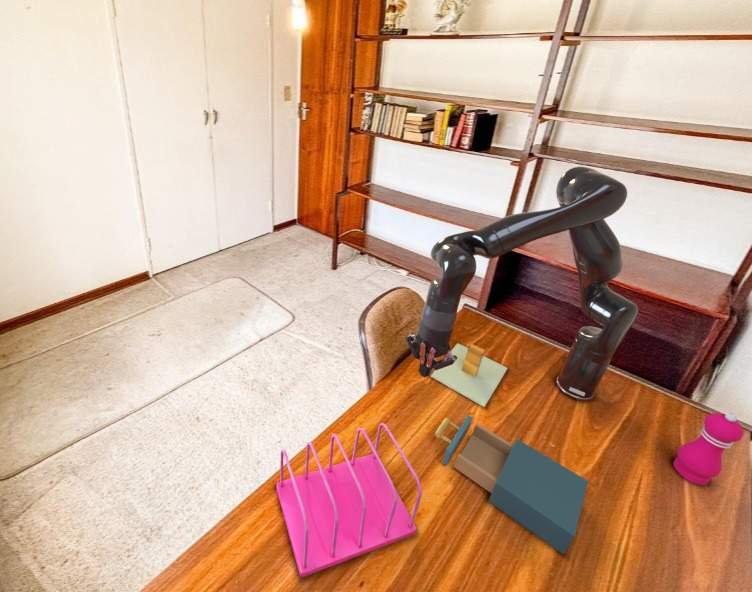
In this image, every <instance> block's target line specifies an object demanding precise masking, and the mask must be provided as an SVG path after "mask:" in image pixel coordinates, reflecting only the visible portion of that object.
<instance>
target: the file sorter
mask: <svg viewBox="0 0 752 592" xmlns="http://www.w3.org/2000/svg"><path fill="white" fill-rule="evenodd" d="M382 428H384V429H385V430H386V432H387V434H388V435H389V438H390V439H391V441H392V443H393V444H394V445H395V448H396V449H397V450H398V452H399V454H400V456H401V457H402V459H403V460H404V462H405V465H406V467H407V469H408V470H409V471H410V473H411V475H412V477H413V478H414V480H415V482H416V486H417V495H416V496H417V497H416V500H415V503H414V506H413V510H412V513H411V516H410V514H409V512H408V510H407V508H406V506H405V504H404V502H403V501H402V498H401V497H400V495H399V493H398V491H397V489H396V487H395V485H394V482H393V480H392V478H391V476H390V475H389V473H388V471H387V469H386V467H385V466H384V464H383V462H382V459H381V457H380V456H379V453H378V448H379V442H380V437H381V433H382ZM361 432H362V434H363V436H364V437H365V440H366V441H367V443H368V445H369V447H370V449H371V451H372V453H371V454H368V455H365V456H361V457H357V458H356V456H357V451H358V444H359V439H360V434H361ZM335 441H336V443H337V446H338V448H339V449H340V452H341V454H342V456H343V458H344V460H345V461H344V462H340V463H337V464H334V465H333V455H334V454H333V453H334V444H335ZM329 447H330V448H329V458H328V467H324V468H323V466H322V464H321V462H320V460H319V456H318V454H317V452H316V449H315V447H314V445H313V443H312V441H308V442H307V443H306V453H305V467H304V469H305V470H304V474H301V475H297V476H294V472H293V469H292V466H291V463H290V460H289V457H288V454H287V451H286V449H284V448H282V449H280V468H279V469H280V473H279V474H280V477H279V478H280V481H278V482H276V493H277V496H278V500H279V504H280V506H281V507H280V508H281V511H282V515H283V517H284V521H285V525H286V529H287V532H288V536H289V537H288V538H289V541H290V544H291V548H292V551H293V556H294V559H295V563H296V566H297V569H298V572H299V573H298V574H299V576H300V578H304V577H308V576H310V575H312V574H315V573H317V572H320V571H323V570H325V569H328V568H330V567H334V566H336V565H338V564H341V563H343V562H346V561H349V560H351V559H355V558H358V557H359V556H362V555H365V554H368V553H370V552H372V551H376V550H378V549H381V548H383V547H386V546H388V545H391V544H394V543H396V542H398V541H401V540H404V539H406V538H409V537H412V536H414V535H416V534H417V527H416V525H415V523H414V522H415V519H416V515H417V513H418V510H419V506H420V503H421V500H422V495H423V491H422V485H421V481H420V479H419V477H418V475H417V473H416V472H415V470H414V468H413V466H412V465H411V463H410V461H409V460H408V458H407V456H406V454H405V453H404V451H403V450H402V448H401V445H400V444H399V443H398V441H397V439H396V438H395V437H394V435H393V433H392V432H391V430H390V429H389V427H388V426H387V424H386V423H384V422H382V423H380V424H379V425H378V428H377V434H376V439H375V444H374V445H373V443H372V441H371V439H370V437H369V435H368V433H367V432H366V430H365V429H364V428H363V427H358V429H357V431H356V435H355V440H354V446H353V452H352V457H351V460H350V459H349V458H348V455H347V453H346V451H345V449H344V447H343V445H342V443H341V440H340V438H339V437H338V435H337V434H336V433H332V435H331V437H330V446H329ZM310 449H311V452H312V454H313V457H314V459H315V462H316V464H317V467H318V469H317V470H315V471H311V472H309V463H310ZM284 460H285V463H286V466H287V469H288V472H289V476H290V478H288V479H285V480H284Z"/></svg>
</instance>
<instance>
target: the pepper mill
mask: <svg viewBox="0 0 752 592" xmlns="http://www.w3.org/2000/svg"><path fill="white" fill-rule="evenodd" d="M743 437H744V428H743V426H742V425H741V424H740V422H739V421H738V417H737V415H736V414H734V413H732V412H727V413H720V412H714V413H710V414H707V415H706V417H704V420H703V426H702V428H701V429H700V436H699V437H698V438H696V439H695V440H693V441H688V442H686V443H684V444H682V445H681V446H680V447H679V448H678V449H677V456H676V458H675V459H674V461H673V462H672V465H673V467H674V469H675V471H676V472H678V474H679V475H680V476H682V477H683V478H684V479H685V480H687V481H688V482H690V483H692V484H695V485H698V486H699V485H700V486H705V485H707V484H708V483H709V482H710V481H711V479H712V478H715V477H717V476H719V475H720V473H721V471H722V468H723V463H722V461H723V460H722V456H723V453H724V450H726V449H730V448H731V447H732V445H734V443H737V442H739V441H741V440H742V439H743Z"/></svg>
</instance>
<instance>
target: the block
mask: <svg viewBox="0 0 752 592" xmlns="http://www.w3.org/2000/svg"><path fill="white" fill-rule="evenodd" d="M467 348H468V350H467V354H466V357H465V360H464V364H463V367H462V372H464V373H466V374H468V375H470V376H472V377H474V378H475V376H476V375H477V373H478V371H479V368H480V365H481V362H482V358H483V356H485V352H486V350H485V349H483V348H481V347H480V346H477V345H476V344H473V343H470V345H469V347H467Z"/></svg>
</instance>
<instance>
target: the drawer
mask: <svg viewBox="0 0 752 592" xmlns="http://www.w3.org/2000/svg"><path fill="white" fill-rule="evenodd" d="M472 420H473V416H471V415H469V414H467V416H466V417H465V418H464V420H463V422H462V423H461V425H460V427H459V426H458V425H457V424H455V423H453V422H452V421H451V420H450V418H449V417H444V419H443V420H442V422H441V423H440V424H439V426H438V428H437V429H436V430H435V432H434V436H435V438H438V439H439V438H441V439H442V440H444V441H445V442H447V443H448V446H447V447H446V448H445V452H444V454H443V458H442V462H441V464H443V465H444V466H446V467H447V466H448V465H449V463H450V462H451V460H452V458H453V457H454V456H455V454H456V452H457V450H458V449H459V447H460V445H461V444H462V442H463V441H464V439H465V437H466V435H467V434H468V432H469V430H470V427H471V423H472ZM448 426H450V427H452V428H454V429H455V430H457V431H456V433H455V435H454V437H453V438H452V439H450V438H449V437H447V436H446V435H444V434H443V433H444V432H445V430H446V429H447V427H448ZM472 431H473V432H472V434H471V435H470V438H469V439H468V441H467V442H466V445H464V448H463V449H462V451H461V453H457V455H456V459H455V462H454V465H453V468H454V469H456V470H457V471H458V472H460V473H461V474H463V475H464V476H465V477H467V478H469V479H470V480H471V481H473V482H474V483H476V484H477V485H478V486H479V487H481V488H483V489H484V490H485V491H487V492H489V493H490V494H492V491H493V489H494V486H495V484H496V481H497V479H498V477H499V475H500V473H501V471H502V469H503V466H504V464H505V462H506V460H507V458H508V456H509V454H510V451H511V449H512V447H513V445H514V444H512V443H511V442H509V441H508V440H506V439H505V438H502V437H501V436H499V435H497V434H496V433H495V432H493V431H491V430H489V429H488V428H486V427H485V426H482V425H481V424H479V423H477V422H476V423H475V425H474V429H473V430H472Z"/></svg>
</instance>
